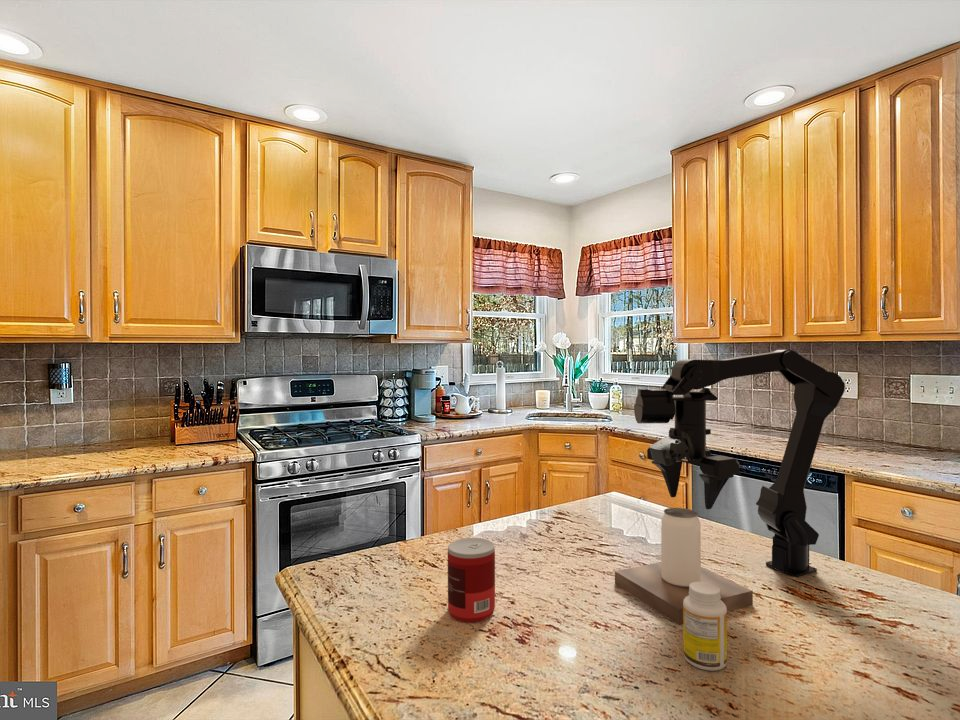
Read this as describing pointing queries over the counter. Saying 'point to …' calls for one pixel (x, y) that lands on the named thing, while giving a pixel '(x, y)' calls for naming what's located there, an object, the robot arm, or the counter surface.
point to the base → (676, 590)
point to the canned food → (471, 579)
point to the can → (680, 547)
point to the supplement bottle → (705, 627)
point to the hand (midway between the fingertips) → (690, 502)
